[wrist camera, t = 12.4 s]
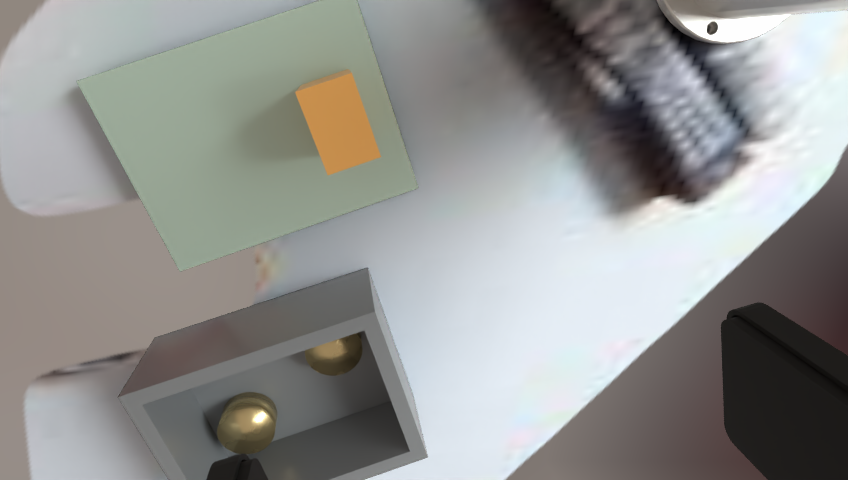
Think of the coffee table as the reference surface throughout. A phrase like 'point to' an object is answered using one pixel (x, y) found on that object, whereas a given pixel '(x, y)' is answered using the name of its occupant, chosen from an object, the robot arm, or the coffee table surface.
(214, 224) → the lid
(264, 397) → the gold dome
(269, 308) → the tub
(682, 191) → the coffee table surface
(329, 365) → the gold rounded part
